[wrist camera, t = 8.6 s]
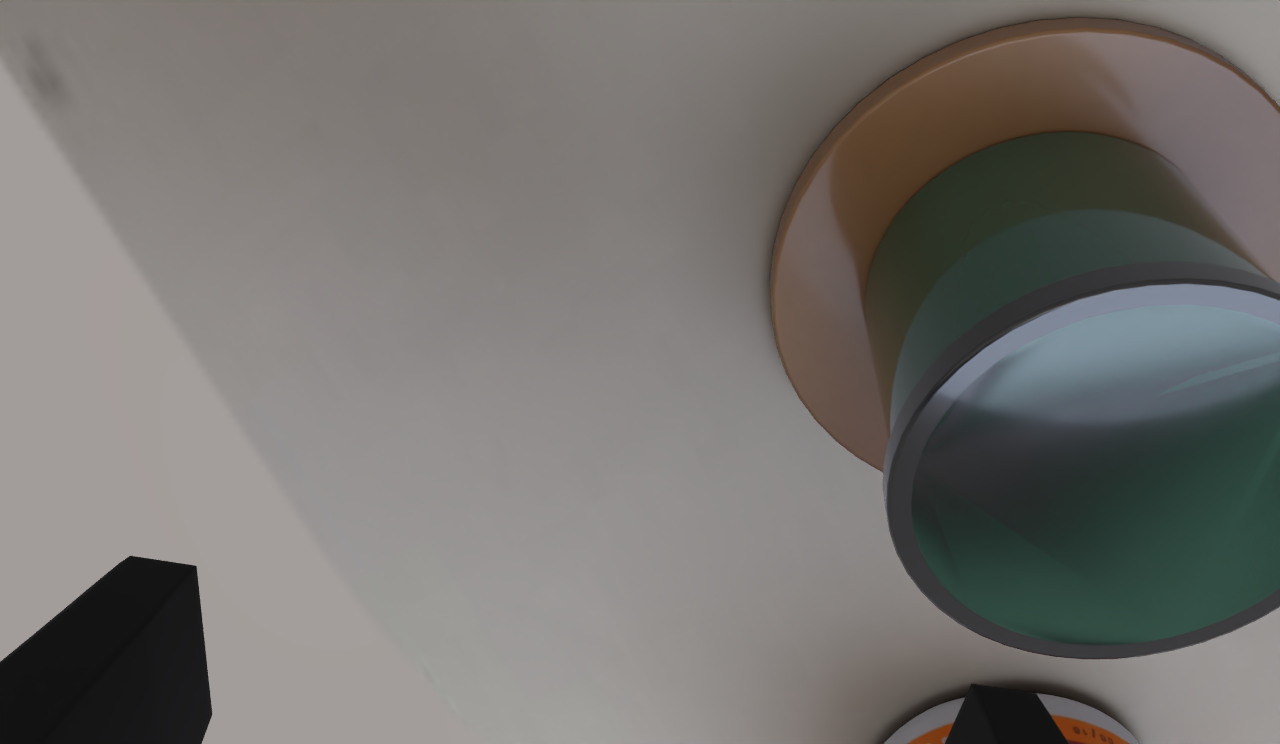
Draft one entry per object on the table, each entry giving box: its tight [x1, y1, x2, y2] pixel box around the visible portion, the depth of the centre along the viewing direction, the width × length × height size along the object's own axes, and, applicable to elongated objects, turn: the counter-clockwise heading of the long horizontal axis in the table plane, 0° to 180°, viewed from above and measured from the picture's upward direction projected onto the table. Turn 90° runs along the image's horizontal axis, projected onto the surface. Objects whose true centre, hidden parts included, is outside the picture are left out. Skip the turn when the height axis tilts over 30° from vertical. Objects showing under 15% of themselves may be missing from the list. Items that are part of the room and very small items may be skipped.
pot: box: [864, 132, 1280, 659], centre depth 16 cm, size 6×6×5 cm
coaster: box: [770, 18, 1280, 472], centre depth 18 cm, size 8×8×1 cm
